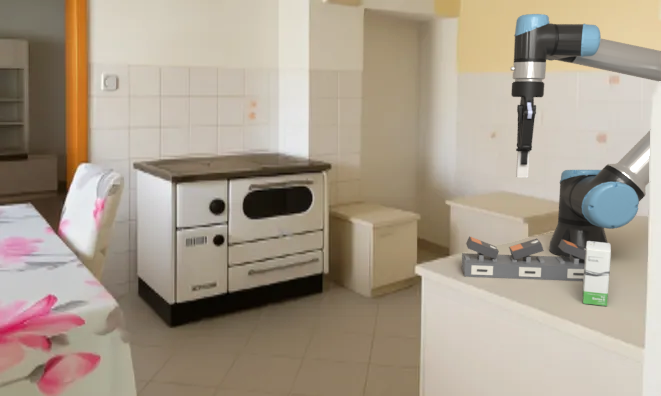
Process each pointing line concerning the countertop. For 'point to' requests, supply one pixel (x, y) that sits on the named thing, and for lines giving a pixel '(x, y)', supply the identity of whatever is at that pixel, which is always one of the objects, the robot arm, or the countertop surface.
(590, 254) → the ink box
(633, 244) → the countertop surface
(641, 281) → the countertop surface
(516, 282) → the countertop surface
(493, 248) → the rocker
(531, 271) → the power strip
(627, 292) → the countertop surface
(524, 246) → the rocker
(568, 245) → the rocker
